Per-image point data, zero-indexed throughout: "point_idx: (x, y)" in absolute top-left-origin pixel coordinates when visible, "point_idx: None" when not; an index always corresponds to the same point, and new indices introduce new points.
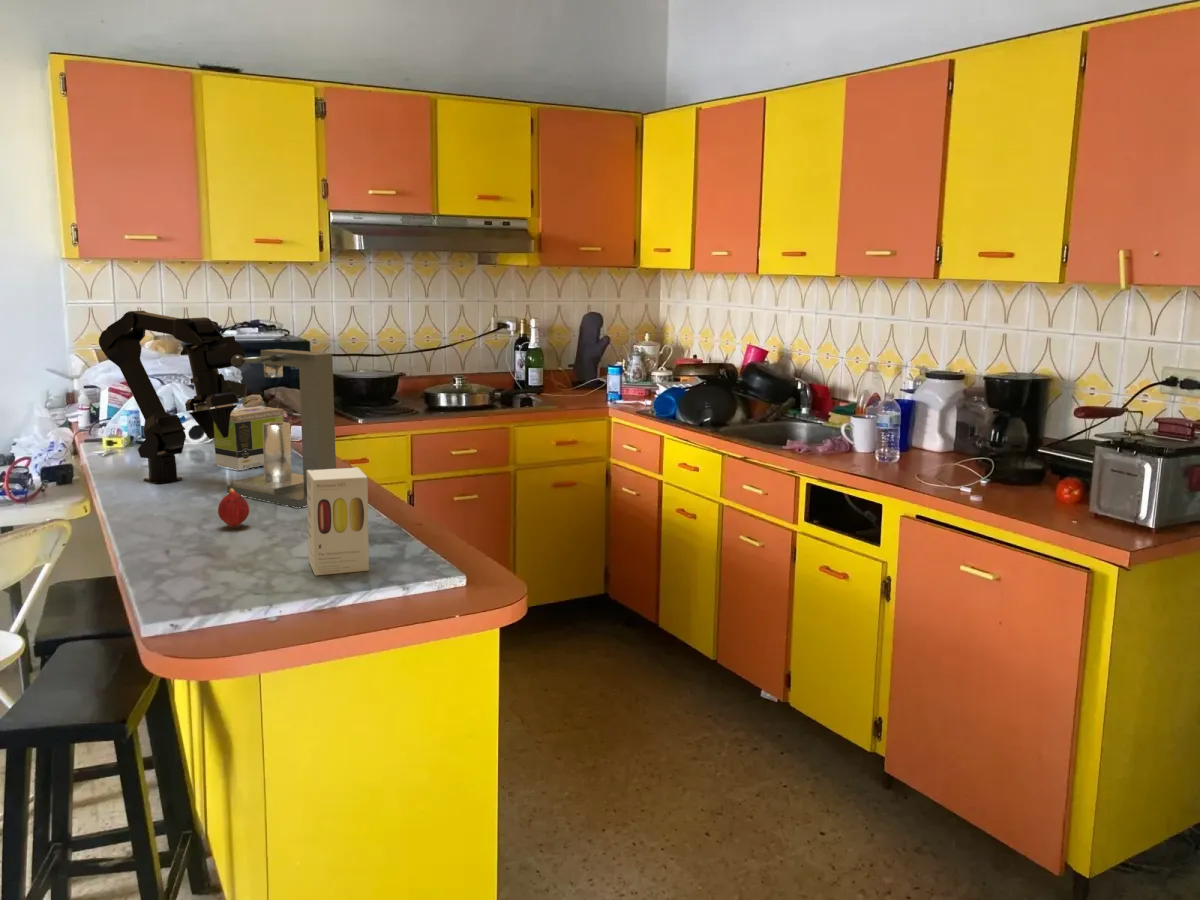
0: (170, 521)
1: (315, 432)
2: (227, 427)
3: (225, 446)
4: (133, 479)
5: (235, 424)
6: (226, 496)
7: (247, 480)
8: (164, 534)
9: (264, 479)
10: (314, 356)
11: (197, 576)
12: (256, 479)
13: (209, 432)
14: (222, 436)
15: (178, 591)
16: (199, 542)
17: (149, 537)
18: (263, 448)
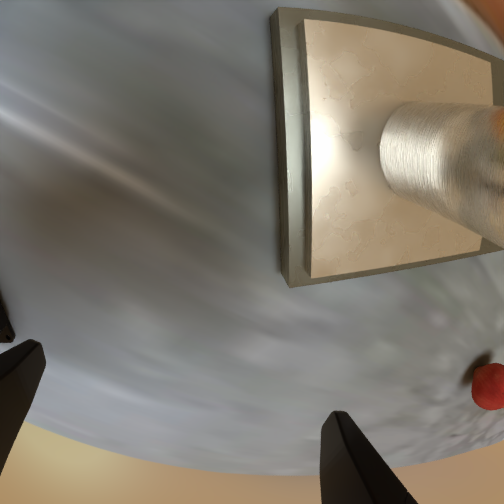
0: (376, 428)
1: None
2: (379, 468)
3: None
4: None
5: None
6: (499, 408)
7: (348, 236)
8: (414, 437)
9: (401, 196)
10: None
11: (500, 419)
12: (362, 202)
13: (24, 394)
14: (322, 437)
15: (499, 429)
16: (466, 411)
17: (406, 448)
18: (493, 240)
